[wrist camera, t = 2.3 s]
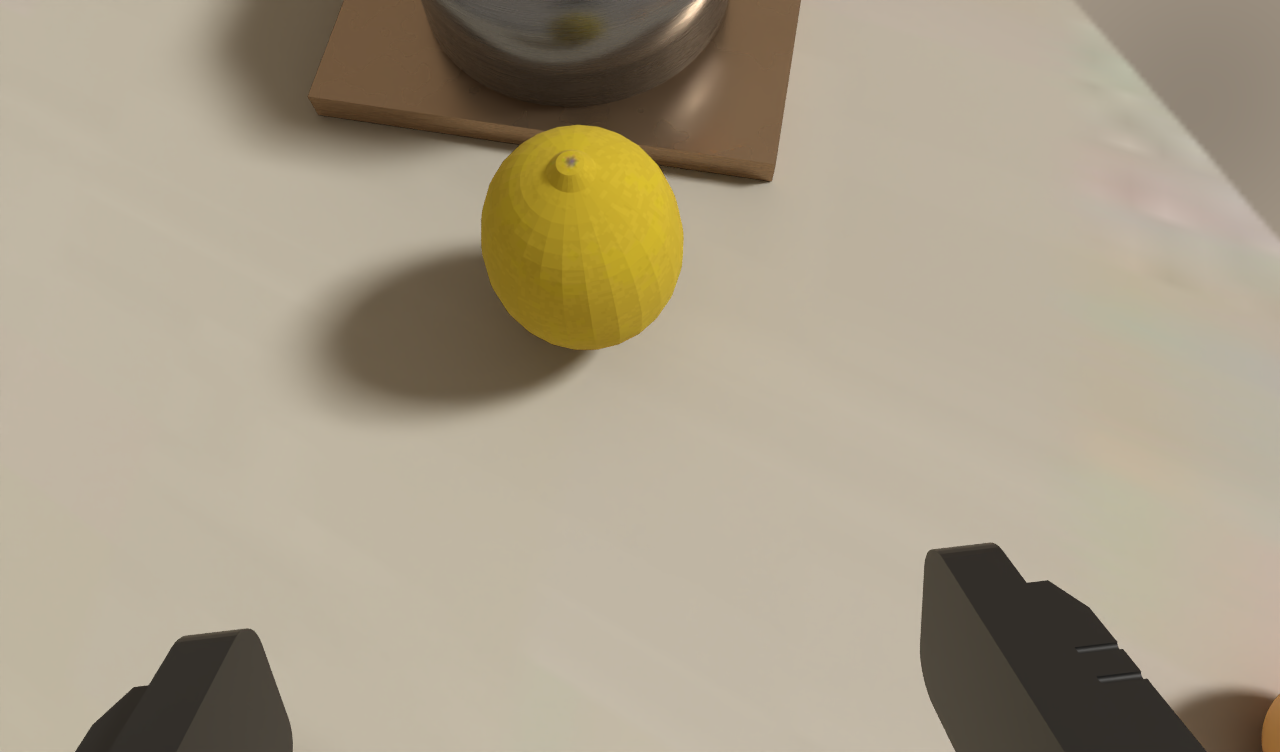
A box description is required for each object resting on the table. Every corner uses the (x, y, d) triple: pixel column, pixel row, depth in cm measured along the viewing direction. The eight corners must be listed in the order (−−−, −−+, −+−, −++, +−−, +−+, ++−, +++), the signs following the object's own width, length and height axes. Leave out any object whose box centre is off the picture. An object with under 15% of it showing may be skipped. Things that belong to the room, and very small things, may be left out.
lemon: (656, 404, 27) (655, 290, 19) (485, 363, 27) (418, 237, 20) (697, 248, 28) (711, 88, 21) (536, 213, 29) (493, 45, 22)
